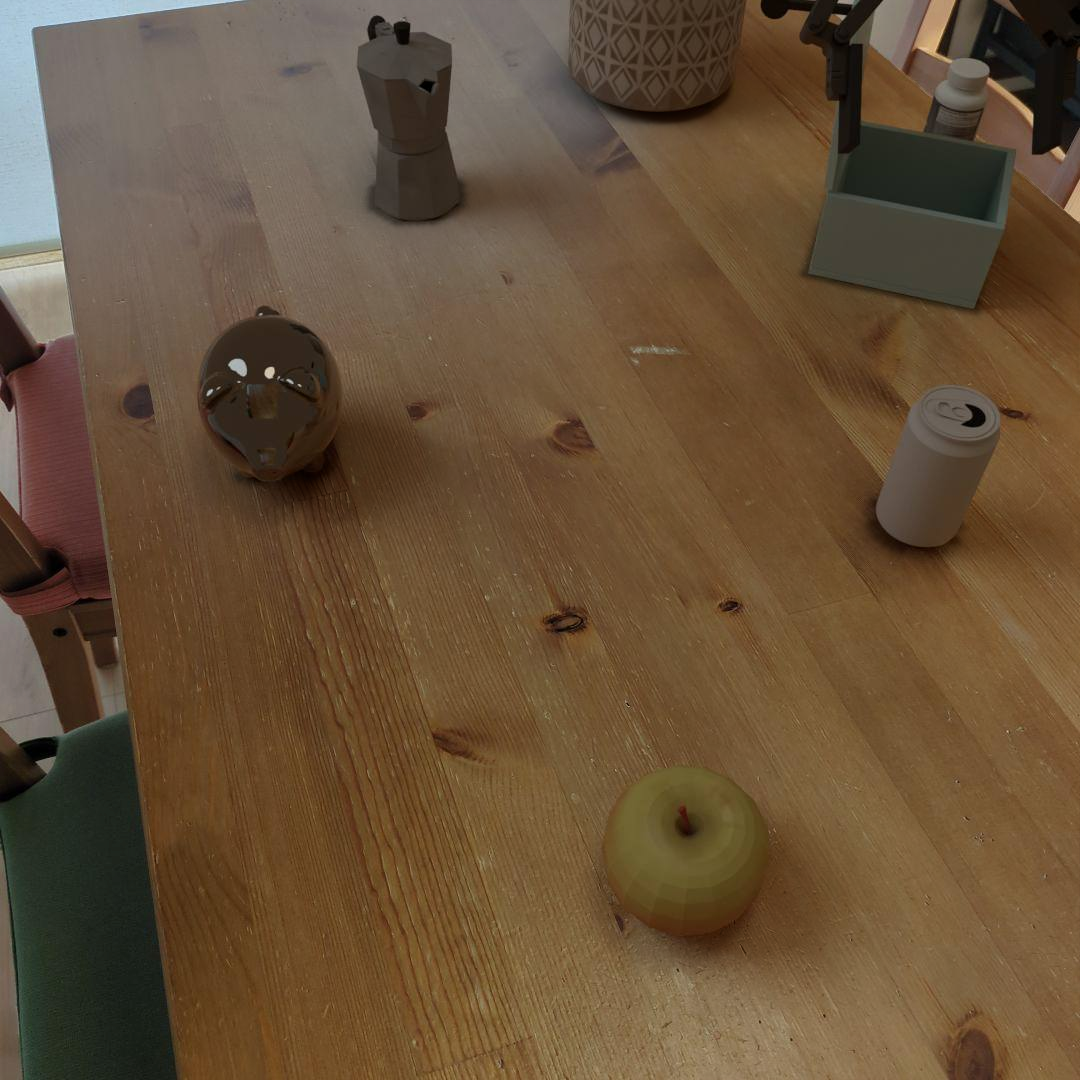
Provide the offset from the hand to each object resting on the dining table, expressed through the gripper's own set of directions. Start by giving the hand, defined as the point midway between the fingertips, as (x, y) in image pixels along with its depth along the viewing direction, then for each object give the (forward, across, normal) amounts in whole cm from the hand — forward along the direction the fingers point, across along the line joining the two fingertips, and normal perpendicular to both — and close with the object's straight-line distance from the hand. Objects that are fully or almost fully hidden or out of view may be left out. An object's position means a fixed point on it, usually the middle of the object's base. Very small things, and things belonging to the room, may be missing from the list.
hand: (947, 150), depth 76 cm
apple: (+47, +19, +12) cm, 52 cm away
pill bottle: (-10, -16, -45) cm, 49 cm away
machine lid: (-13, 0, -23) cm, 26 cm away
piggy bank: (+21, +49, -14) cm, 55 cm away
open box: (+2, -8, -33) cm, 34 cm away
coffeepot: (-5, +41, -40) cm, 58 cm away
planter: (-21, +14, -56) cm, 62 cm away
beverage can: (+26, -2, -8) cm, 28 cm away
